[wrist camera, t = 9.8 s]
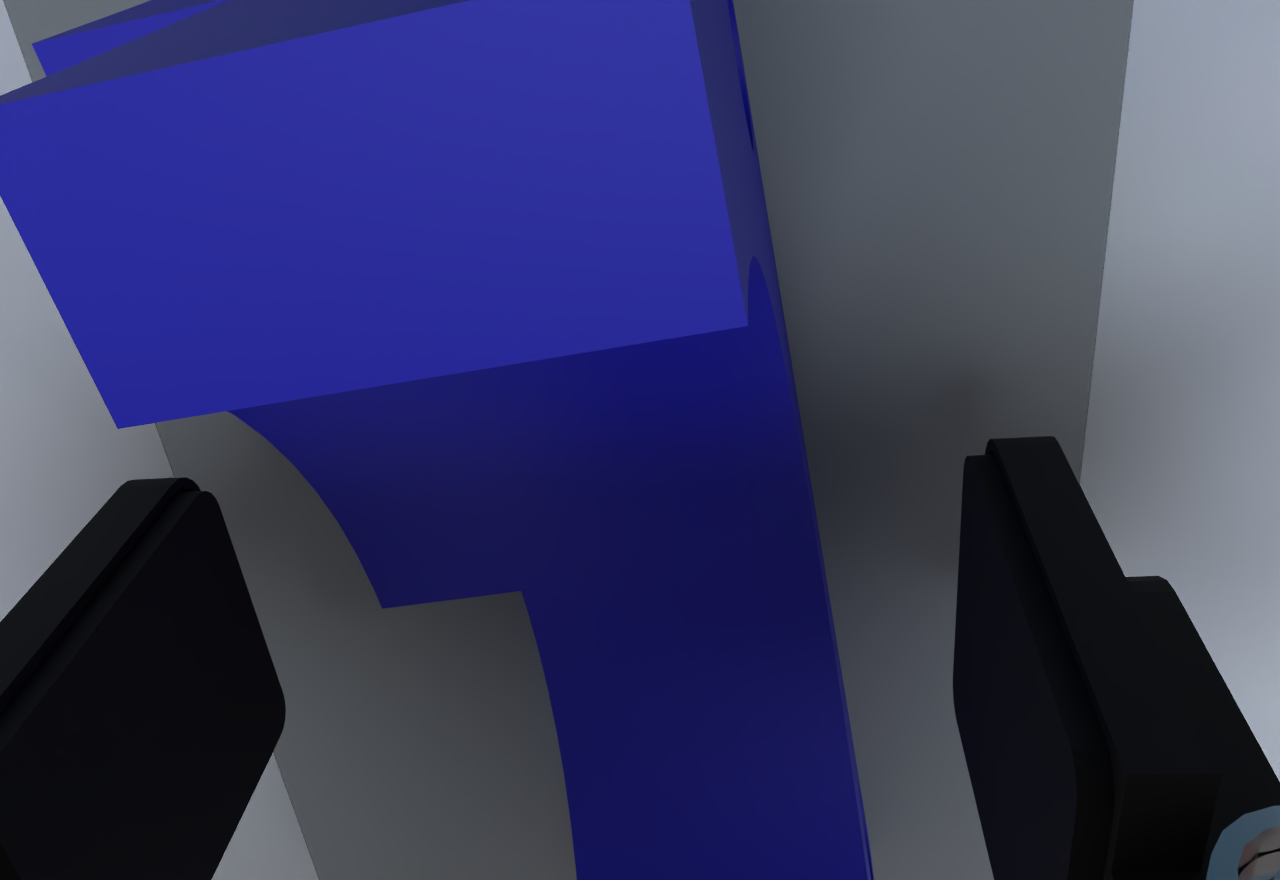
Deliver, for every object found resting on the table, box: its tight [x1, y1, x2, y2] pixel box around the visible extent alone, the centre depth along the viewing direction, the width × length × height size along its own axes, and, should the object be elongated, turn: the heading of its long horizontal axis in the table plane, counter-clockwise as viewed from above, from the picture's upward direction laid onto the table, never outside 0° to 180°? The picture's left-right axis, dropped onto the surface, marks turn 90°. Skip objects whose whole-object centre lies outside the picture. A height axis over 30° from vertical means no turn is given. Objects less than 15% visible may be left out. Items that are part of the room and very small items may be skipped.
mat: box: [3, 0, 1134, 880], centre depth 13 cm, size 14×10×1 cm
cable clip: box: [0, 0, 874, 880], centre depth 10 cm, size 12×4×6 cm, turn 12°
